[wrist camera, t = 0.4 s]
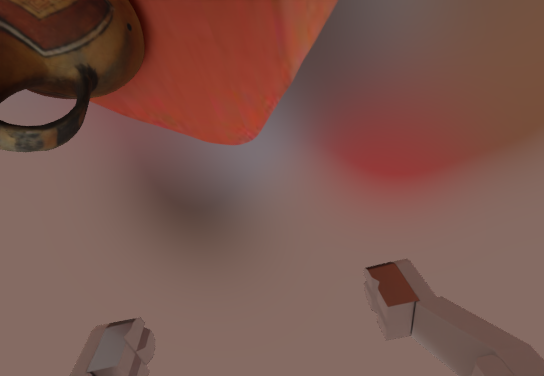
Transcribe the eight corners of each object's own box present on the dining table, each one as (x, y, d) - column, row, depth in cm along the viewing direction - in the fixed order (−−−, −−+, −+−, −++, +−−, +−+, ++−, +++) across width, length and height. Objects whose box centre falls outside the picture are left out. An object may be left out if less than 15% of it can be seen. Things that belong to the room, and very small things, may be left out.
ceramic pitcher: (9, -105, 35) (-291, -64, 16) (165, -6, 44) (91, 98, 25) (16, 32, 48) (-149, 147, 29) (137, 89, 56) (73, 206, 37)
